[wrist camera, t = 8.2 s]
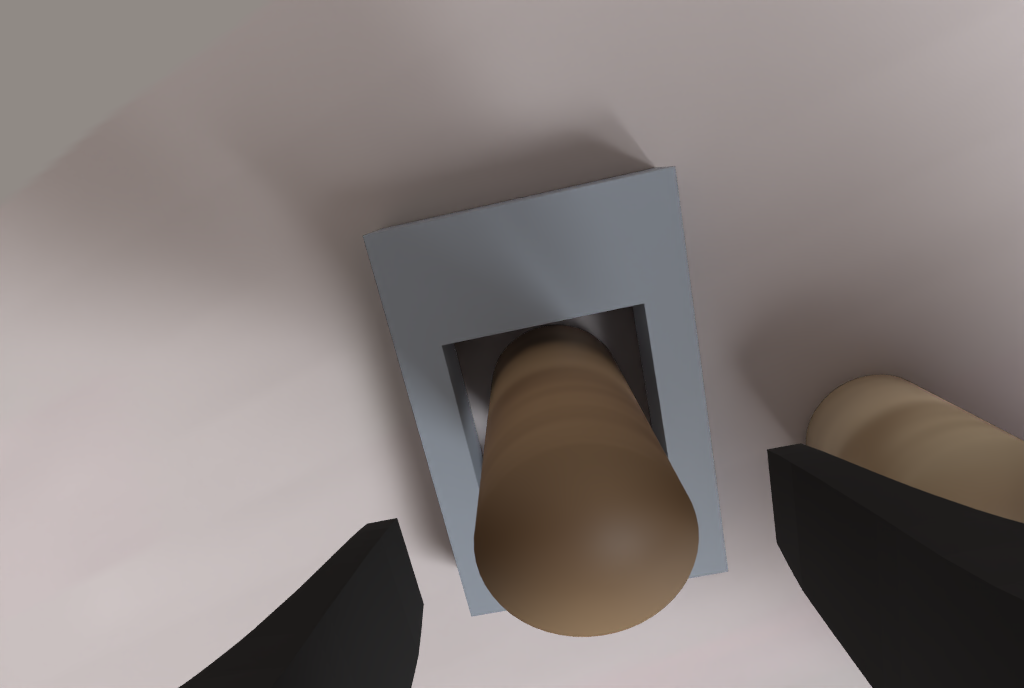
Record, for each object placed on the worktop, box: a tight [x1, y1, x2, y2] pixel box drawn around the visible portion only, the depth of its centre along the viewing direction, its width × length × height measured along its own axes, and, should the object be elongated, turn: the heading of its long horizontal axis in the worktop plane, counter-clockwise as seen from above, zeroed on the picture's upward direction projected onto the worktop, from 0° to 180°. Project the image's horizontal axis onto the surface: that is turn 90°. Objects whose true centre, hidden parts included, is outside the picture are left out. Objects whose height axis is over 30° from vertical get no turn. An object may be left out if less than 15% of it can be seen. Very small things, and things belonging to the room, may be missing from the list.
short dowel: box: [806, 375, 1024, 523], centre depth 16 cm, size 4×4×4 cm
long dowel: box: [474, 325, 699, 637], centre depth 14 cm, size 4×4×8 cm
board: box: [363, 166, 728, 617], centre depth 17 cm, size 12×8×2 cm, turn 12°
